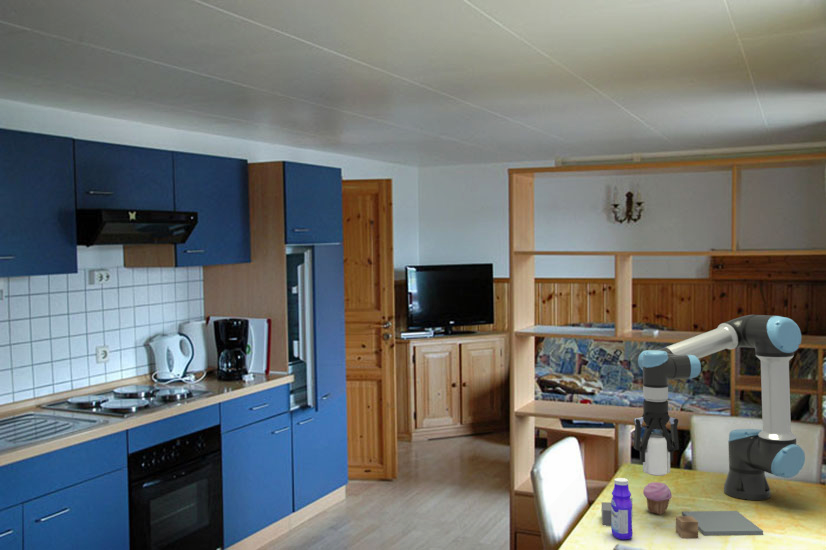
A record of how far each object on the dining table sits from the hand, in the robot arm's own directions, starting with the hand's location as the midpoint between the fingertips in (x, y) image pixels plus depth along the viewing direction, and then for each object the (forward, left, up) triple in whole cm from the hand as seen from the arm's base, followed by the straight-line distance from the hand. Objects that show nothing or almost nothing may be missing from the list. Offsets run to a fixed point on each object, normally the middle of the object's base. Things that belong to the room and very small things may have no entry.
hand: (656, 471), depth 229 cm
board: (-20, +1, -17) cm, 26 cm away
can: (0, 0, -1) cm, 1 cm away
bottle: (+14, +10, -17) cm, 24 cm away
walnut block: (-6, +10, -17) cm, 20 cm away
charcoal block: (+15, -3, -17) cm, 23 cm away
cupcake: (-4, -11, -17) cm, 21 cm away
